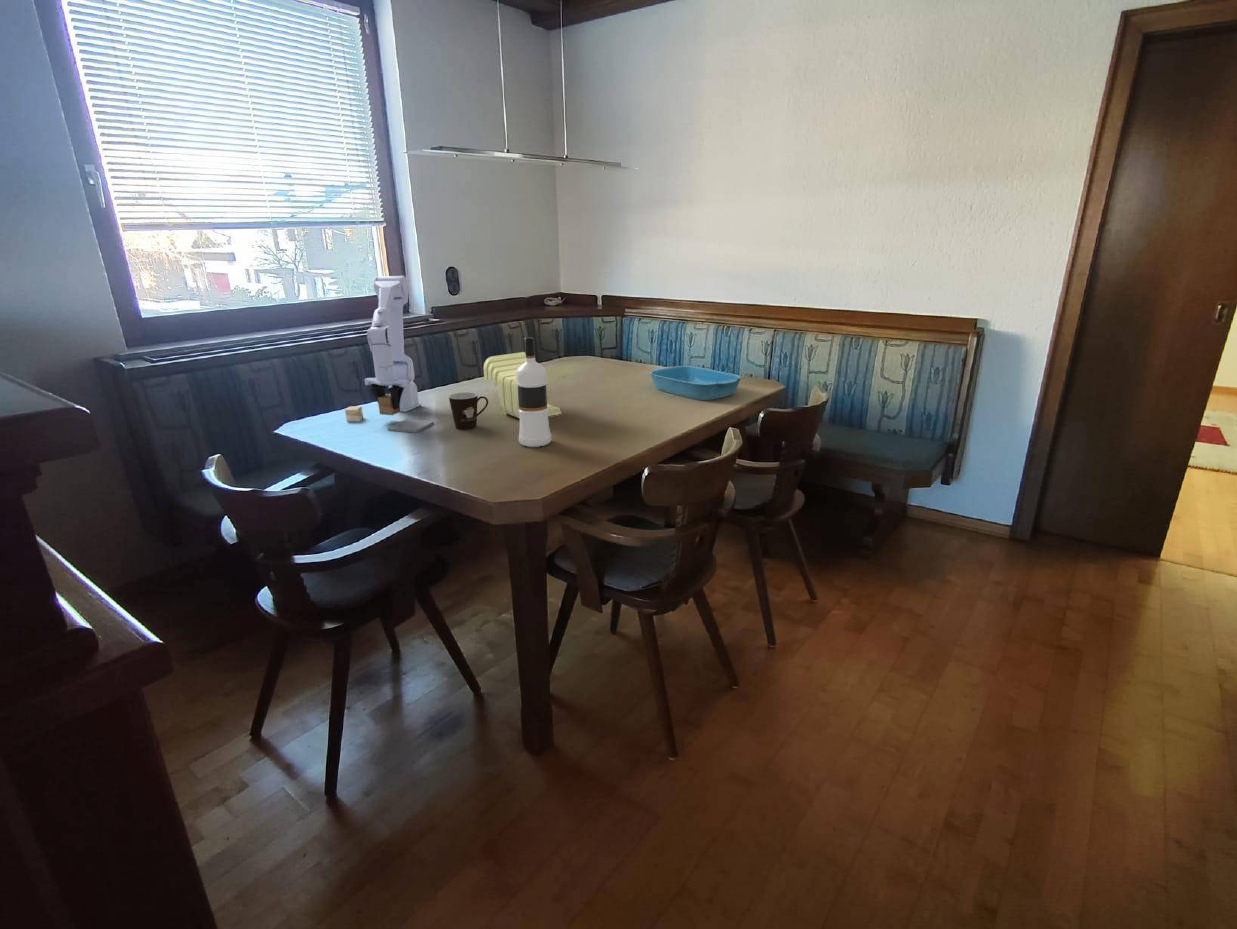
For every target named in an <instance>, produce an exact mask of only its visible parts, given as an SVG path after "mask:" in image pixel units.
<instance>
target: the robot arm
mask: <svg viewBox="0 0 1237 929" xmlns="http://www.w3.org/2000/svg"><path fill="white" fill-rule="evenodd" d="M373 290H374V293H375V294H376V296H377V299H378V306H377V308H376V309H375V310H374V312H373V316H372V321H371V327H370V328H368V329H367V331H366V338H367V343H368V345H369V350H370V352H371V353H372V360H373V366H374V367H373V368H374V374H375V375H374V376H375V377H367V378H364V385H365V386H369V385H371V386H370V387H369V388H368V389H369V391H370V392H371V393H372V395H373V396H374V397H375V399H376V401H377V403H378V398H377V397H380V396H382V395H385V394H386V387H387V386H388V388H387V391H388V392H389V394H390V395H391V398H392V403H393V408H394V409H398V408H399V406H400V411H401V412H405V413H406V412H409V411H411V410H412V409H413V410H414V409H415V408H417V407H419V406H422V404H421V403H420V402H419V394H418V387H417V384H416V383H415V382H414V380H415V367H414V361H413V360H412V358H411V357H410V356H408V355H407V354H405V343H404V342H405V340H404V314H403V313H404V305H406V304H407V303H408V302H409V286H408V279H407V278H406V276H405V275H386V276H385V275H383V276H382V275H380V276H379V275H376V276H374V277H373Z"/></svg>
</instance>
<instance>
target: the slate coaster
mask: <svg viewBox="0 0 1237 929" xmlns="http://www.w3.org/2000/svg"><path fill="white" fill-rule="evenodd" d="M433 425H435V421H433V420H432V421H431V420H419V419H418V420H417V419H409V418H408V419H404V420H402V421H399V422H397V423H395V424H394V425H393V424H392V426H389V427H387V431H388V432H389V431H391V432H402V433H413V434H417V433H419V432H421V431H423V430H425V429H427V428H429V427H431V426H433Z"/></svg>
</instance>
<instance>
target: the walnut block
mask: <svg viewBox="0 0 1237 929" xmlns="http://www.w3.org/2000/svg"><path fill="white" fill-rule="evenodd" d="M377 398H378V402H377V403H378V404H377V405H378V409H379V410H378V411H379V415H382V416H383V415H385V416H394V415H396V414H398V413H400V412H402V411H400V406H399V408H398V409H394V408H393V403H392V398H391V395H390V393H389V394H388V393H385V395H382V396H380V397H377Z"/></svg>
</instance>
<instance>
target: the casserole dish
mask: <svg viewBox="0 0 1237 929" xmlns="http://www.w3.org/2000/svg"><path fill="white" fill-rule="evenodd" d="M649 375H650V376H651V380H652V382H653V384H654V387H655V388H656V389H657V390H659V391H661V392H665V393H668V394H672V395H676V396H680V397H683V396H684V397H685V398H688V399H693V400H698V401H712V400H717V399H721V398H725V397H730V396H731V395H733V394H734V393H735V392H736V391H737V389H738V386H739V384H740V381H741V378H742V377H741V375H739V374H736V373H735V374H734V373H730V372H725V371H721V370H714V369H710V368H706V367H700V366H695V365H694V366H693V365H676V366H674V365H673V366H666V367H665V366H664V367H659V368H656V369H653V370H652V371H650V373H649ZM684 397H683V398H684Z"/></svg>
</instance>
